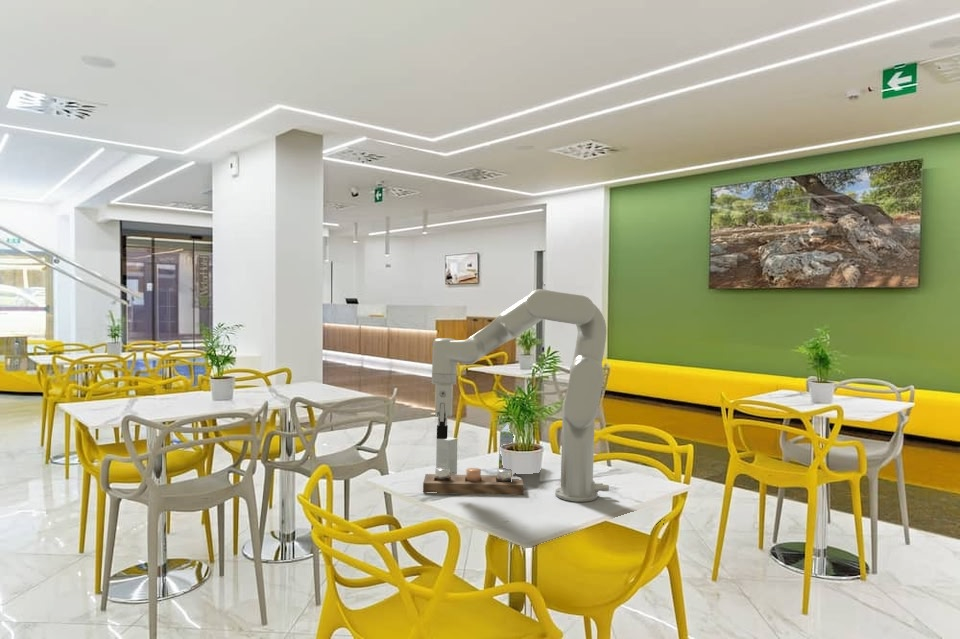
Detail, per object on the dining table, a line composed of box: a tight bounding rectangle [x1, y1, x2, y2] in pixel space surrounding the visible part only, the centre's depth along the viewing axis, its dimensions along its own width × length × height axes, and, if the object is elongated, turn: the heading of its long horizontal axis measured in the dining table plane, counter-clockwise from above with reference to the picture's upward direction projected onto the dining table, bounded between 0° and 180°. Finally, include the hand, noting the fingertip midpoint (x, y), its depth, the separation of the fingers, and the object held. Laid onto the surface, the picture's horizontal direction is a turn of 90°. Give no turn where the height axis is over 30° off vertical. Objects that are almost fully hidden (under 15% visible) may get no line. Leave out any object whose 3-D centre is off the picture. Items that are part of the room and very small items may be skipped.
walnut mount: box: [422, 473, 524, 496], centre depth 199 cm, size 30×10×3 cm, turn 90°
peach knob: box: [465, 467, 482, 482], centre depth 199 cm, size 4×4×3 cm
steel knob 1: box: [434, 467, 450, 481], centre depth 198 cm, size 4×4×3 cm
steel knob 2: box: [496, 468, 512, 482], centre depth 199 cm, size 4×4×3 cm
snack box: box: [498, 423, 514, 469], centre depth 224 cm, size 21×6×15 cm, turn 168°
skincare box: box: [435, 436, 458, 475], centre depth 215 cm, size 6×4×12 cm
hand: (441, 438), depth 198 cm, fingers closed
